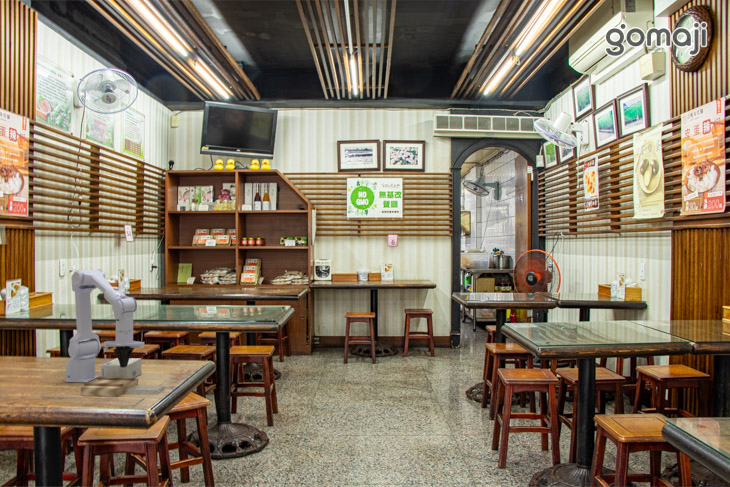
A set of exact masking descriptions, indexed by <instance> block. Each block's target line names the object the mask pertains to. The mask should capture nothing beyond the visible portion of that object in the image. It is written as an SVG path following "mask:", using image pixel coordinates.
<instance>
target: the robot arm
mask: <svg viewBox="0 0 730 487" xmlns="http://www.w3.org/2000/svg"><path fill="white" fill-rule="evenodd" d="M97 289H98V290H99V291H100V292H102V293H103V298H104V299H105V300H106V301H107V302H108V303H109V304H110V305H111V306H112V312H113V316H114V320H115V340H107V341H104V342H103V348H115V349H113V353H114V354H115V356H116V358H118V360H119V363H120V367H123V368H124V367H126V366H127V365H128V361H129V358H131V355H132V353H133V352H134V350H135V349H144V348H145V341H138V340H137V341H136V340H134V313H135V312H136V311H137V309H138V308H137V307H138V303H137V300H136V299H135V297H133V296H127V295H126V294H125V293H124V292H123V291H122V290H121V288H119V287H118V286H112V285H111V284H110V282H109V281H108V280H107V279H106V273H105V272H104V271H103V270H102V269H100V268H99V269H87V270H86V269H85V270H84V269H83V270H82V269H81V270H79V269H77V270H75V271H74V272H73V274H72V275H71V290H72V292H74V300H75V302H74V303H75V320H76V322H75V323H76V334H75V335H74V336H72V337H71V338H70V339H69V345H68V349H67V350H68V355H69V357H70V358H68V360H67V362H66V364H65V369H66V370H65V379H64V383H87V382H89V383H90V382H91V381H94V380H97V379H98V377H101V374H96V357H98V354H100V351H101V349H102V344H101V342H100V337H99V335H98V334H96V333H95V332H93V322H92V321H93V320H92V304H91V303H92V302H91V293H92V291H94V290H97Z"/></svg>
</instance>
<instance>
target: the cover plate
mask: <svg viewBox="0 0 730 487" xmlns="http://www.w3.org/2000/svg"><path fill="white" fill-rule="evenodd" d="M164 391H165V385H160V384H159V385H155V384H154V385H152V384H151V385H149V384H148V385H147V384H146V385H145V384H144V385H142V384H138V385H132V386H130V387H128V388H127V389H125V393H124V395H159V394H160V393H161V392H164Z"/></svg>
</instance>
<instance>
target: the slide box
mask: <svg viewBox="0 0 730 487" xmlns="http://www.w3.org/2000/svg"><path fill="white" fill-rule="evenodd" d="M83 383H84V385H83V386H80V397H81V396H83V397H110V398H111V397H112V398H113V397H114V398H115V397H116V398H118V397H121V396H122V395H125V389H127V388H128V387H130V386H132V385H139V378H138V377H137V376H136V377H101V376H100V377H98V378H97V379H95V380H93V381H92V382H90V381H89V382H83Z"/></svg>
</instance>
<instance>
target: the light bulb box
mask: <svg viewBox="0 0 730 487" xmlns="http://www.w3.org/2000/svg"><path fill="white" fill-rule="evenodd" d="M141 374H142V358H141V357H140V358H135V357H134V358H133V357H132V358H131V357H130V358H129V361H128V365H127V366H126V367H124V368H123V367H120V363H119V360H118V357H116V358H114V359H112V360H110V361H107V362H105V363H103V364H100V377H136V378H137V377H138V376H140V375H141Z"/></svg>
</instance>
